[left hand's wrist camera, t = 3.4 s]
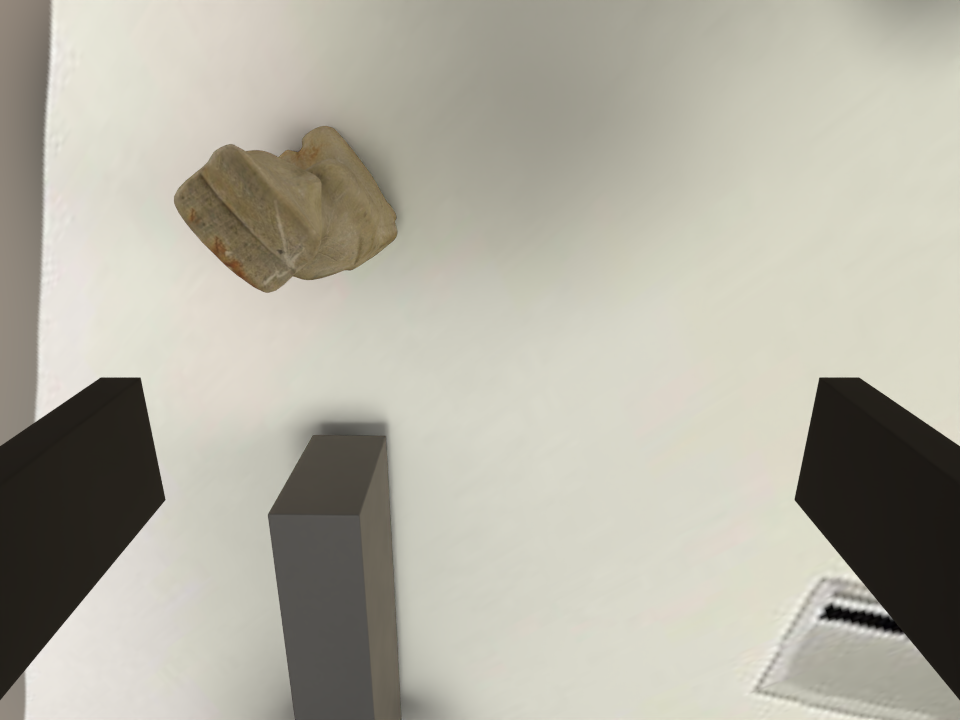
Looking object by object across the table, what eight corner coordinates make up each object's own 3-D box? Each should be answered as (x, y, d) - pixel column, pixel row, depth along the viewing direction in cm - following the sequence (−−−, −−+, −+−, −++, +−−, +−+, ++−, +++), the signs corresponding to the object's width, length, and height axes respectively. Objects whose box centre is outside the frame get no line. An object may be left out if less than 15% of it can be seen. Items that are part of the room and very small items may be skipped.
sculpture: (344, 108, 35) (254, 101, 21) (422, 217, 37) (387, 276, 23) (264, 171, 36) (129, 203, 22) (344, 273, 38) (266, 361, 24)
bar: (312, 434, 40) (267, 514, 32) (386, 435, 40) (359, 515, 32) (344, 754, 50) (315, 878, 42) (403, 755, 50) (386, 880, 42)
